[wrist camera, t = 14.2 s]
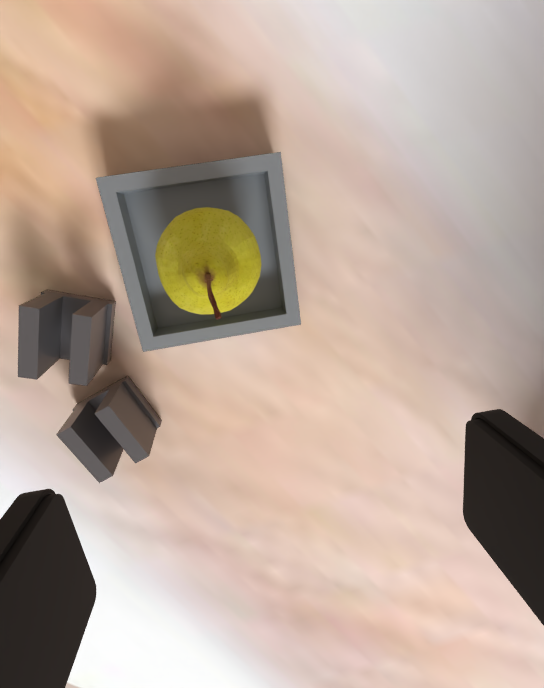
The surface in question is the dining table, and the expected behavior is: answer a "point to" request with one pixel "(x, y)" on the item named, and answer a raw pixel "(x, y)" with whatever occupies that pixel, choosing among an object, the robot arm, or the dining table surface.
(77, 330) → the clip
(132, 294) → the grey square tray
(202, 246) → the fruit
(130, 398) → the clip
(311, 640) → the dining table surface
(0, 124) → the dining table surface
